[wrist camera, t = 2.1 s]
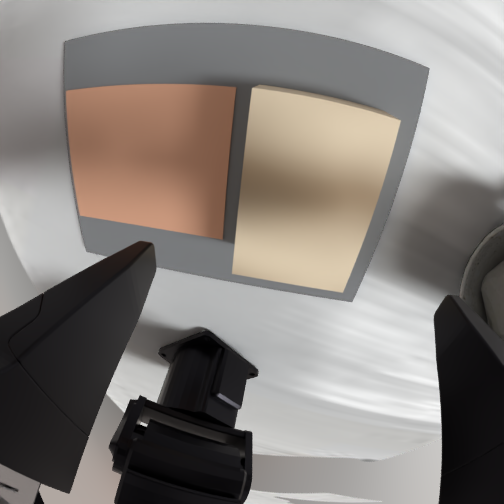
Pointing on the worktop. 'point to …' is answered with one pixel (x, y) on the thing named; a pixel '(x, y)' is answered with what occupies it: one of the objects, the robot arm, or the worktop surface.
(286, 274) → the card box
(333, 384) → the worktop surface
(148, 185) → the mat
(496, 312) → the ceramic mug
